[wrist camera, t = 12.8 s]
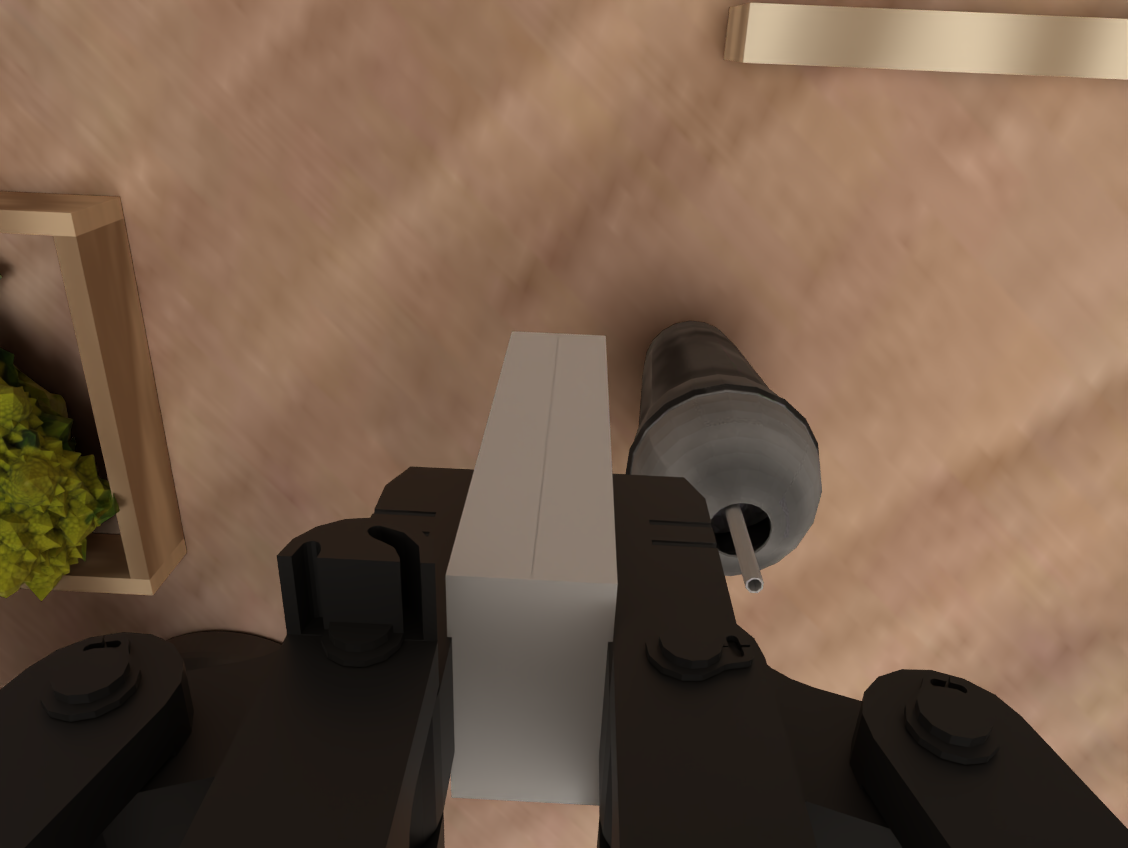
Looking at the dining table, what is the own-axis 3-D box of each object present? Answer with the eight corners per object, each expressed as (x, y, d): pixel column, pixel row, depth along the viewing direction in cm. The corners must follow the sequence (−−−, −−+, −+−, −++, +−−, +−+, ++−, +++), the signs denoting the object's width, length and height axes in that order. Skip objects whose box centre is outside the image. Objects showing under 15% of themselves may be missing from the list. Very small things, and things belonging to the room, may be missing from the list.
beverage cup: (643, 446, 43) (680, 740, 25) (596, 322, 40) (600, 553, 22) (778, 403, 42) (920, 680, 24) (739, 272, 39) (868, 473, 21)
